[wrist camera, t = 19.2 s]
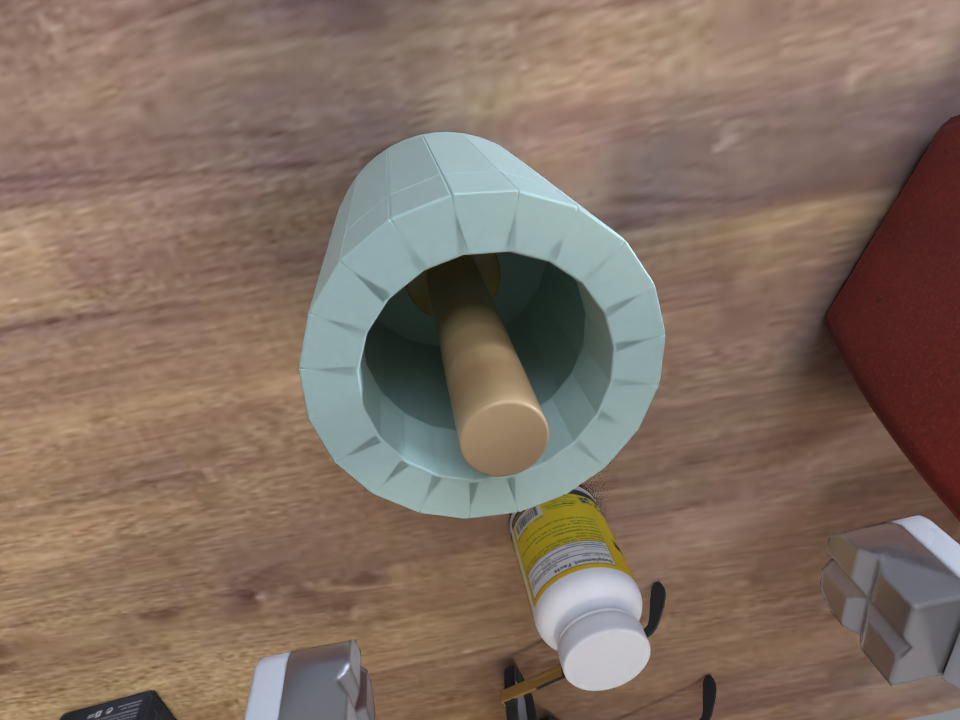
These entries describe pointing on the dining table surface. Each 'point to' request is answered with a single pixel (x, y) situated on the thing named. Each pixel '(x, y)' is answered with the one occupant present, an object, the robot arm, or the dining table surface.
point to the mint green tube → (522, 308)
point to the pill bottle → (581, 591)
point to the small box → (125, 709)
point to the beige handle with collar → (481, 366)
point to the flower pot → (912, 318)
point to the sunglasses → (518, 690)
